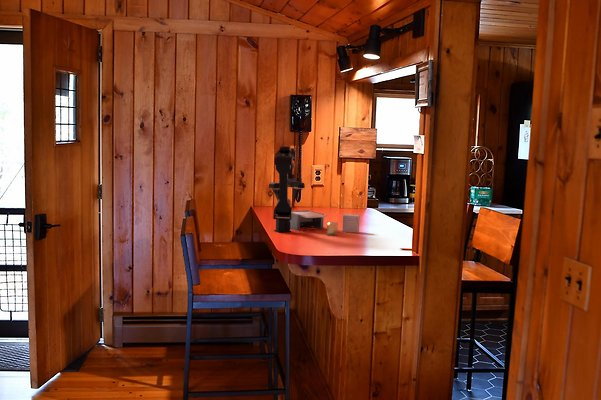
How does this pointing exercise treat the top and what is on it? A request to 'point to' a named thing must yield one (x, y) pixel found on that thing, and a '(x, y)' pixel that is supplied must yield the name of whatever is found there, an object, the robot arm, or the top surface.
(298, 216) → the trapdoor stand
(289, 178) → the robot arm
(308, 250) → the top surface
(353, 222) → the medicine box
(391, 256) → the top surface
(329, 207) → the top surface
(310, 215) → the trapdoor flap
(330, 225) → the cylinder
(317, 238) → the top surface
